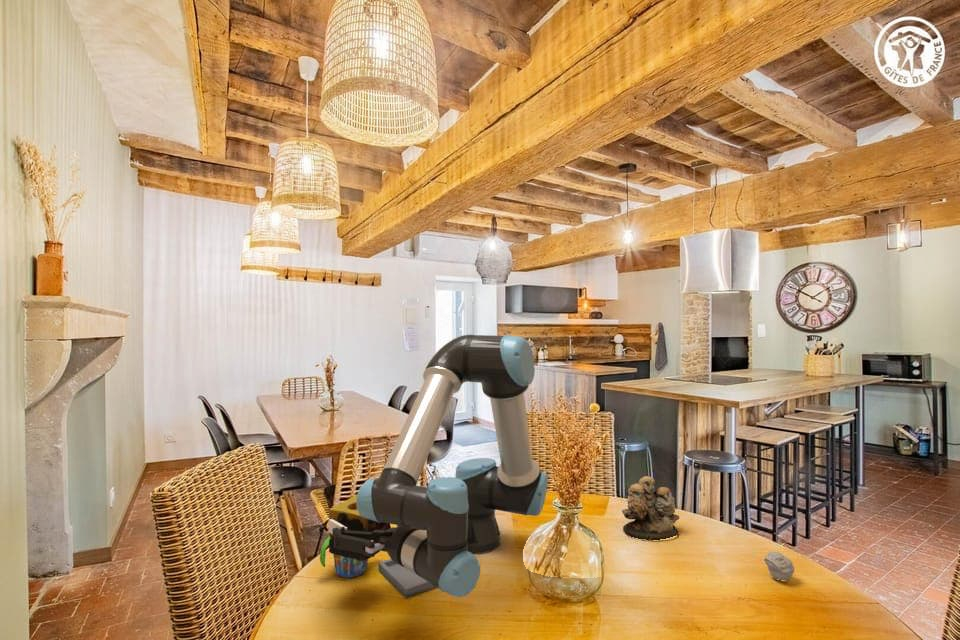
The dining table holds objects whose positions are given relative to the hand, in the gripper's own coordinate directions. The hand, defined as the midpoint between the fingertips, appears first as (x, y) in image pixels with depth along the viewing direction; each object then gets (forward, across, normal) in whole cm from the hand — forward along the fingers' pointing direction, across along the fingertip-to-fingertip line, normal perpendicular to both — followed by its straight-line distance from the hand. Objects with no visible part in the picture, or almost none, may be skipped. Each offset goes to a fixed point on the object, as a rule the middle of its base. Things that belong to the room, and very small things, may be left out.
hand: (355, 517), depth 110 cm
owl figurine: (-33, +82, -18) cm, 90 cm away
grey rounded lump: (-68, +79, -18) cm, 106 cm away
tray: (-4, +16, -18) cm, 24 cm away
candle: (-2, 0, -7) cm, 7 cm away
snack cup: (+10, +5, -18) cm, 21 cm away
